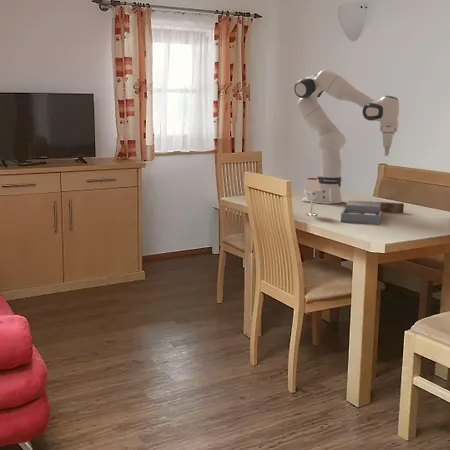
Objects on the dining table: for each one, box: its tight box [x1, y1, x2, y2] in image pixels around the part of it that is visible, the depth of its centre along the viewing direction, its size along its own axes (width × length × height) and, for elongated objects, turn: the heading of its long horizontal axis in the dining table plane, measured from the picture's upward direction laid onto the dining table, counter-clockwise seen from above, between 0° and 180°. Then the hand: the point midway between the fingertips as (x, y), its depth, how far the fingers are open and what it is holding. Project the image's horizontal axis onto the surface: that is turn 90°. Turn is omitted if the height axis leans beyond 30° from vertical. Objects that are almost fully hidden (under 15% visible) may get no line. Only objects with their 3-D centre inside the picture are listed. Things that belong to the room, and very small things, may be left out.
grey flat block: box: [345, 199, 382, 211], centre depth 304 cm, size 16×14×6 cm
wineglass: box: [303, 177, 321, 217], centre depth 303 cm, size 8×8×18 cm
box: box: [340, 208, 383, 225], centre depth 292 cm, size 18×13×4 cm
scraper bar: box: [380, 201, 405, 214], centre depth 314 cm, size 14×3×5 cm, turn 73°
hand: (386, 155), depth 316 cm, fingers open, 8 cm apart
